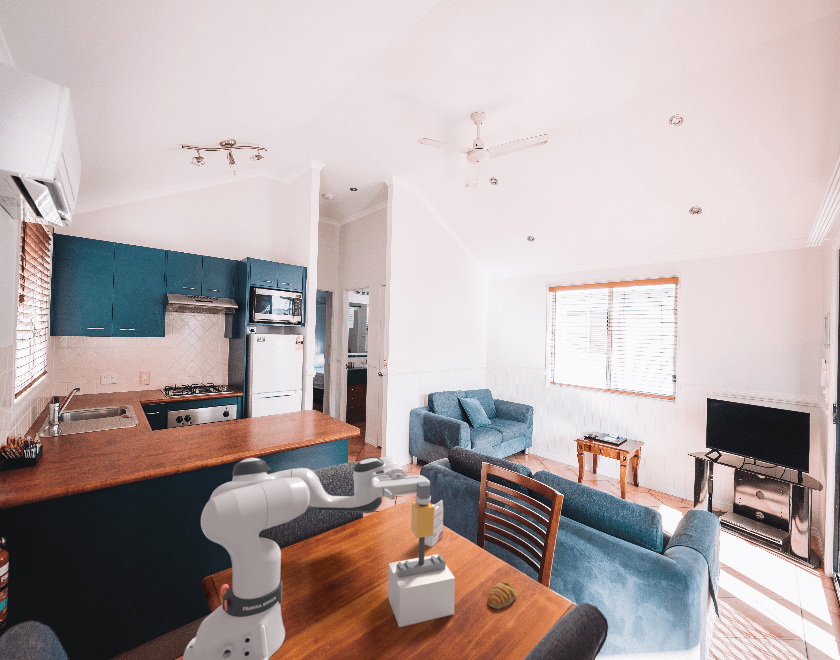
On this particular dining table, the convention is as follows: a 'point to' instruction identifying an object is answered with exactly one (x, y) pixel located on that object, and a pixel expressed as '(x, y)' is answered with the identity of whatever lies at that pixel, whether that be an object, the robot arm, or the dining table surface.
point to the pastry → (501, 595)
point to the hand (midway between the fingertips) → (406, 495)
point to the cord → (422, 499)
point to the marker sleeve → (422, 520)
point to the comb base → (420, 590)
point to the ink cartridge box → (436, 525)
